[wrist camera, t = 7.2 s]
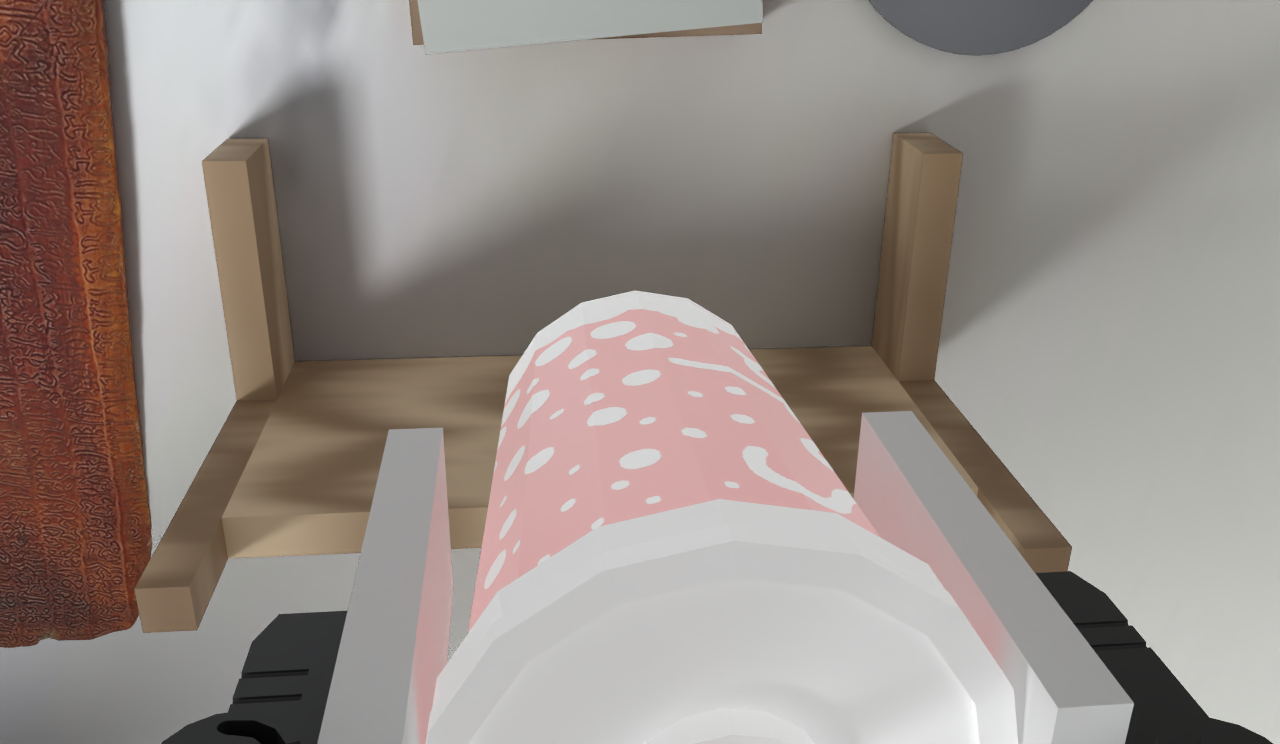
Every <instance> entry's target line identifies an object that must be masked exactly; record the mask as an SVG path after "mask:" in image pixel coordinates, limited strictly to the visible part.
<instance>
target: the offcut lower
mask: <svg viewBox="0 0 1280 744" xmlns="http://www.w3.org/2000/svg"><path fill="white" fill-rule="evenodd" d="M409 5H410V15H411V26H412V36H413V45H424V40H423V34H422V27H421V21H420V14H419V8H418V1H417V0H409ZM743 34H762V23H753V24H742V25H732V26H721V27H711V28H700V29H690V30H679V31H669V32H658V33H648V34H637V35H627V36H616V37H606V38H595V39H616V38H648V37H680V36H711V35H743Z"/></svg>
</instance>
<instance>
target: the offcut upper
mask: <svg viewBox="0 0 1280 744" xmlns="http://www.w3.org/2000/svg"><path fill="white" fill-rule="evenodd" d="M417 1H418V8H419V14H420V21H421V27H422V34H423V40H424V47H425V54H426V55H427V54H438V53H448V52H459V51H469V50H480V49H490V48H501V47H511V46H522V45H532V44H543V43H553V42H564V41H574V40H585V39H595V38H606V37H616V36H627V35H637V34H648V33H658V32H669V31H679V30H690V29H700V28H711V27H721V26H732V25H742V24H753V23H763V5H762V0H417Z"/></svg>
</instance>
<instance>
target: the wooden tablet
mask: <svg viewBox="0 0 1280 744" xmlns="http://www.w3.org/2000/svg"><path fill="white" fill-rule="evenodd" d="M108 57H109V47H108V43H107V38H106V26H105V14H104V0H0V647H4V648H13V647H19V646H23V647H24V646H32V645H36V644H38V642H39V641H40V640H43V639H46V638H52V639H56V640H59V641H60V640H90V639H94V638H97V637H100V636H103V635H106V634H108V633H111V632H115V631H121V630H127V629H129V628H131V627H132V625H133V624H134V623H135V621H136V619H137V617H138V615H139V610H138V605H137V600H136V595H135V590H134V589H135V587H136V585H137V583H138V581H139V579H140V578H141V576H142V574H143V572H144V570H145V568H146V566H147V565H148V563H149V561H150V559H151V549H152V539H151V522H150V512H149V505H148V497H147V487H146V480H145V473H144V462H143V451H142V438H141V431H140V423H139V417H138V404H137V399H136V391H135V381H134V366H133V360H132V346H131V334H130V326H129V313H128V299H127V285H126V277H125V262H124V247H123V234H122V211H121V200H120V196H119V188H118V177H117V167H116V150H115V136H114V128H113V119H112V107H111V99H110V86H111V83H110V77H109V64H108Z"/></svg>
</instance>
